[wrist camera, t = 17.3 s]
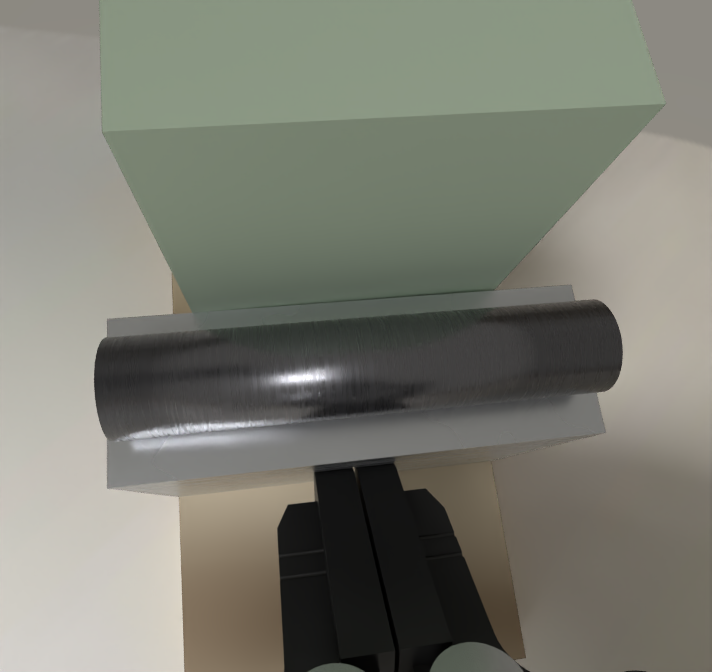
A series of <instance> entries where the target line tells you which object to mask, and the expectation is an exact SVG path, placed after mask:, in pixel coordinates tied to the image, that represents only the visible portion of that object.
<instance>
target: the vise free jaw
mask: <svg viewBox="0 0 712 672" xmlns="http://www.w3.org/2000/svg"><path fill="white" fill-rule="evenodd" d="M622 356H623V350H622V339H621V334H620V330H619V327H618V324H617V322H616V319H615V317H614V315H613V314H612V312H611V311H610V309H609V308H608V307H607V306H606V305H605V304H604V303H602V302H601V301H598V300H580V301H575V298H574V294H573V290H572V285H561V286H547V287H534V288H520V289H507V290H493V291H480V292H466V293H453V294H439V295H426V296H412V297H399V298H385V299H372V300H358V301H344V302H331V303H317V304H304V305H290V306H277V307H263V308H250V309H236V310H223V311H209V312H196V313H182V314H169V315H155V316H142V317H128V318H115V319H107V337H106V338H104V339H103V340H102V341H101V342H100V344H99V347H98V350H97V354H96V360H95V370H94V388H95V400H96V407H97V413H98V417H99V421H100V424H101V427H102V430H103V432H104V434H105V436H106V437H107V488H108V489H116V490H124V491H133V492H141V493H149V494H158V495H166V496H174V497H184V496H193V495H201V494H210V493H219V492H227V491H236V490H245V489H253V488H262V487H271V486H279V485H288V484H297V483H305V482H314V472H321V471H330V470H339V469H348V468H353V470H355V468H356V467H365V466H374V465H383V464H392V463H394V464H395V466H396V468H397V471H398V472H401V471H409V470H418V469H427V468H435V467H444V466H453V465H461V464H470V463H479V462H487V461H493V460H497V459H501V458H506V457H510V456H514V455H518V454H522V453H526V452H530V451H534V450H538V449H542V448H546V447H550V446H554V445H558V444H562V443H566V442H570V441H574V440H579V439H583V438H587V437H591V436H595V435H599V434H603V433H606V431H605V427H604V423H603V418H602V414H601V410H600V406H599V401H598V397H597V393H598V392H605V391H607V390H609V389H610V388H612V387H613V385H614V384H615V383H616V381H617V379H618V377H619V374H620V371H621V366H622Z"/></svg>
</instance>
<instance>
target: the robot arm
mask: <svg viewBox="0 0 712 672" xmlns="http://www.w3.org/2000/svg"><path fill="white" fill-rule="evenodd" d="M314 494H315V502H306V503H297V504H289V505H287V507H286V510H285V512H284V514H283V516H282V519H281V521H280V523H279V525H278V527H277V536H278V555H279V574H280V593H281V613H282V632H283V651H284V672H529V671H528V670H526V669H525V668H523V667H522V666H520V665H519V664H518V663H516V662H515V661H514V660H513V659H512V658H511V657H510V656H509V655H508V654H507V653H506V651H505V650H504V649H503V648H502V646H501V644H500V643H499V641H498V640H497V637H496V635H495V633H494V631H493V628H492V626H491V623H490V621H489V618H488V616H487V613H486V611H485V608H484V606H483V603H482V601H481V598H480V596H479V593H478V591H477V588H476V586H475V583H474V580H473V578H472V575H471V573H470V570H469V568H468V565H467V563H466V560H465V558H464V557H463V556H462V550H461V548H460V545H459V543H458V540H457V538H456V536H455V535H454V530H453V528H452V525H451V523H450V520H449V517H448V515H447V512H446V510H445V508H444V507H443V506H442V504H441V503H440V502H439V501H438V500H437V499H436V498H435V497H434V496H433V495H432V494H431V493H430V492H429V491H428V490H427V489H426V488H424V489H415V490H407V491H404V490H403V487H402V483H401V480H400V477H399V474H398V471H397V468H396V466H395V464H394V463H392V464H383V465H374V466H365V467H356V468H355V470H353V468H348V469H339V470H330V471H321V472H314ZM626 672H645V671H626Z"/></svg>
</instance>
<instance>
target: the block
mask: <svg viewBox="0 0 712 672" xmlns="http://www.w3.org/2000/svg"><path fill="white" fill-rule="evenodd" d="M99 15H100V62H101V108H102V133H103V135H104V137H105V139H106V141H107V143H108V145H109V147H110V149H111V151H112V153H113V155H114V157H115V159H116V161H117V163H118V165H119V167H120V169H121V171H122V173H123V175H124V177H125V179H126V181H127V183H128V185H129V187H130V189H131V191H132V193H133V195H134V197H135V199H136V201H137V203H138V205H139V207H140V209H141V211H142V213H143V215H144V217H145V219H146V221H147V223H148V225H149V227H150V229H151V231H152V233H153V235H154V237H155V239H156V241H157V243H158V245H159V247H160V249H161V251H162V253H163V255H164V257H165V259H166V261H167V263H168V265H169V267H170V269H171V271H172V273H173V275H174V277H175V279H176V281H177V283H178V285H179V287H180V289H181V291H182V293H183V295H184V297H185V299H186V301H187V303H188V305H189V307H190V309H191V311H192V313H196V312H209V311H223V310H236V309H250V308H263V307H277V306H290V305H304V304H317V303H331V302H344V301H358V300H372V299H385V298H399V297H412V296H426V295H439V294H453V293H466V292H480V291H493V290H495V289H496V287H497V286H498V285H499V284H500V283H501V282H502V281H503V280H504V279H505V278H506V277H507V276H508V274H509V273H510V272H511V271H512V270H513V269H514V268H515V267H516V266H517V265H518V264H519V263H520V261H521V260H522V259H523V258H524V257H525V256H526V255H527V254H528V253H529V252H530V251H531V250H532V248H533V247H534V246H535V245H536V244H537V243H538V242H539V241H540V240H541V239H542V238H543V237H544V235H545V234H546V233H547V232H548V231H549V230H550V229H551V228H552V227H553V226H554V225H555V224H556V222H557V221H558V220H559V219H560V218H561V217H562V216H563V215H564V214H565V213H566V212H567V211H568V209H569V208H570V207H571V206H572V205H573V204H574V203H575V202H576V201H577V200H578V199H579V198H580V196H581V195H582V194H583V193H584V192H585V191H586V190H587V189H588V188H589V187H590V186H591V185H592V183H593V182H594V181H595V180H596V179H597V178H598V177H599V176H600V175H601V174H602V173H603V172H604V171H605V169H606V168H607V167H608V166H609V165H610V164H611V163H612V162H613V161H614V160H615V159H616V158H617V156H618V155H619V154H620V153H621V152H622V151H623V150H624V149H625V148H626V147H627V146H628V145H629V143H630V142H631V141H632V140H633V139H634V138H635V137H636V136H637V135H638V134H639V133H640V132H641V130H642V129H643V128H644V127H645V126H646V125H647V124H648V123H649V122H650V121H651V120H652V118H653V117H654V116H655V115H656V114H657V113H658V112H659V111H660V110H661V109H662V108H663V107H664V106H665V104H666V102H665V99H664V96H663V93H662V90H661V87H660V84H659V81H658V78H657V75H656V72H655V69H654V66H653V63H652V60H651V57H650V54H649V51H648V48H647V45H646V42H645V39H644V36H643V33H642V30H641V27H640V24H639V21H638V18H637V15H636V12H635V9H634V6H633V3H632V0H99Z"/></svg>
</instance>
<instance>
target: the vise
mask: <svg viewBox="0 0 712 672" xmlns="http://www.w3.org/2000/svg"><path fill="white" fill-rule="evenodd" d="M172 294H173V314H182V313H192V311H191V309H190V307H189V305H188V303H187V301H186V299H185V297H184V295H183V293H182V291H181V289H180V287H179V285H178V283H177V281H176V279H175V277H174V275H173V273H172ZM398 474H399V477H400V480H401V483H402V487H403V490H404V491H407V490H415V489H424V488H426V489H427V490H428V491H429V492H430V493H431V494H432V495H433V496H434V497H435V498H436V499H437V500H438V501H439V502H440V503H441V504H442V506H443V507H444V508H445V510H446V512H447V515H448V517H449V520H450V523H451V525H452V528H453V530H454V535H455V536H456V538H457V540H458V543H459V545H460V548H461V550H462V556H463V557H464V558H465V560H466V563H467V565H468V568H469V570H470V573H471V575H472V578H473V580H474V583H475V586H476V588H477V591H478V593H479V596H480V598H481V601H482V603H483V606H484V608H485V611H486V613H487V616H488V618H489V621H490V623H491V626H492V628H493V631H494V633H495V635H496V637H497V640H498V641H499V643H500V644H501V646H502V648H503V649H504V650H505V651H506V653H507V654H508V655H509V656H510V657H511V658H512V659H513V660H516V659H522V658H526V655H525V650H524V644H523V639H522V633H521V627H520V622H519V616H518V610H517V605H516V599H515V593H514V588H513V582H512V576H511V571H510V565H509V559H508V554H507V548H506V543H505V537H504V531H503V526H502V520H501V514H500V509H499V503H498V497H497V492H496V486H495V480H494V475H493V469H492V463H491V461H487V462H479V463H470V464H461V465H453V466H444V467H435V468H427V469H418V470H409V471H401V472H398ZM306 502H315V494H314V482H305V483H297V484H288V485H279V486H271V487H262V488H253V489H245V490H236V491H227V492H219V493H210V494H201V495H193V496H184V497H179V513H180V544H181V576H182V607H183V638H184V669H185V672H284V651H283V632H282V613H281V593H280V574H279V555H278V536H277V527H278V525H279V523H280V521H281V519H282V516H283V514H284V512H285V510H286V507H287V505H289V504H297V503H306Z"/></svg>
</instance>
